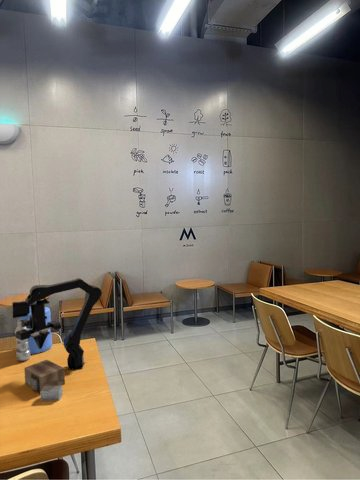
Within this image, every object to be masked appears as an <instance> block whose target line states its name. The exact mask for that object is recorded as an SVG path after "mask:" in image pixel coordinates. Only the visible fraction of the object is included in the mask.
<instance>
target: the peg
mask: <svg viewBox="0 0 360 480" xmlns="http://www.w3.org/2000/svg"><path fill="white" fill-rule="evenodd" d="M30 388H31V389H32V388H33V390H34V391H36V390H38V389H39V386H38V379H37V378H35V377H32V378H31V387H30Z"/></svg>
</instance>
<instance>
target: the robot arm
mask: <svg viewBox="0 0 360 480" xmlns="http://www.w3.org/2000/svg"><path fill="white" fill-rule="evenodd" d="M75 289H81V290H82V291H84V292H85V293H84V294H85V295H84V302H83V305H82V307H81V310H80V312H79V315H78V316H77V318H76V321H75V323H74V326H73V328H72V329H71V331H70V332H69V333H68V332H66V333H65V337H64V339H63V340H62V342H63V345H62V346H63V348H64V350H66V351H65V352H67V353H68V356H67V360H66V362H67V370H68V371H69V370H81V369H83V367H84V366H85V363H86V362H85V360H84V358H85V357H84V353H85V351H84V348H82V347H81V345H80V344H81V336H82V333H83V331H84V328H85V326H86V324H87V322H88V320H89V319H88V318H89V317H90V314H91V312H92V310H93V308H94V306H95V305H96V304H97V303H98V302H99V300H100V299H101V297H102V293H103V292H102V290H101V288H100V287H99V286H96V285H94V284H92V285H91V284H88V283H87V282H86V281H85V280H83V279H82V278H80V277H79V278H75V279H72V280H66V281H63V282H58V283H54V284H37V285H33V286H32V287H30V289H29V294H28V296H27V297H26V299H25V300H23V301H12V303H11V304H12V305H11V306H12V307H11V308H12V309H11V314H12V319H19V317H25V316H27V315H28V314H30V309H29V306H31V317H30V320H28V321H27V319H25V320H21V324H22V327H26V328H30V329H31V328H32V330H26V329H23V330H19V331H17V332H16V334H15V333H14V336H15V339H16V338H17V339H20V340H25V339H28V338H30V336H31V337H33V338H34V340H35V341H36V344H37V346H38V348H39V349H42V346H43V344H44V342H45V340H46V338H47V336H48V334H50V332H48V329H50V330H51V329H54V330H55V331H57V330H60V329H62V323H61V322H60V321H56V320H51V321H50V322H48V323H47V325H46V319H47V316H45V307H46V305H47V304H50V302H49V299H47V298H48V297H50V296H51V295H54V294H57V293H62V292H67V291H71V290H75ZM36 330H37V331H36Z"/></svg>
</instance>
